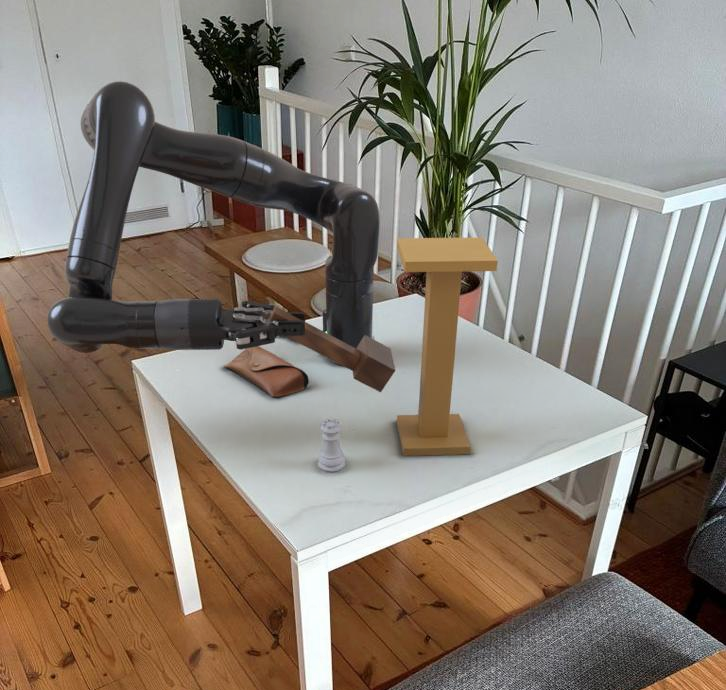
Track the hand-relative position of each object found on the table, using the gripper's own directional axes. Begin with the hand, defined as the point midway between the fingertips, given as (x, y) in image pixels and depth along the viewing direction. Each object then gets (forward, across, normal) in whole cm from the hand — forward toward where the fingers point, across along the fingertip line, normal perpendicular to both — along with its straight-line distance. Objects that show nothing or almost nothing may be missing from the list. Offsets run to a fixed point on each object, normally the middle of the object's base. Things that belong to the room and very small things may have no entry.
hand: (304, 323), depth 112 cm
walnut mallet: (+3, 0, +5) cm, 6 cm away
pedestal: (+21, 0, +21) cm, 30 cm away
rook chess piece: (+4, -8, +21) cm, 23 cm away
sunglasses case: (-9, +24, +21) cm, 33 cm away
